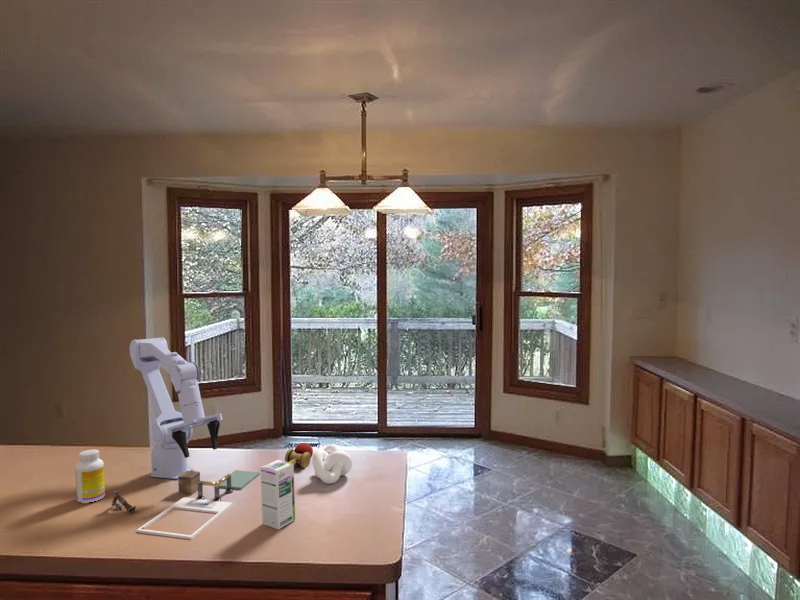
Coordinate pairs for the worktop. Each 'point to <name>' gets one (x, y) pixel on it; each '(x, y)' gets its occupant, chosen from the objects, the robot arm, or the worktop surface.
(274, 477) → the syrup box
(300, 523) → the worktop surface
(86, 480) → the supplement bottle
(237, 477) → the mat
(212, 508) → the white flat frame
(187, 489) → the walnut block
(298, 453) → the kendama
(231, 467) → the worktop surface
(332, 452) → the white knot sculpture
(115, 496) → the wooden post with brackets
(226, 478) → the brass corner rail
